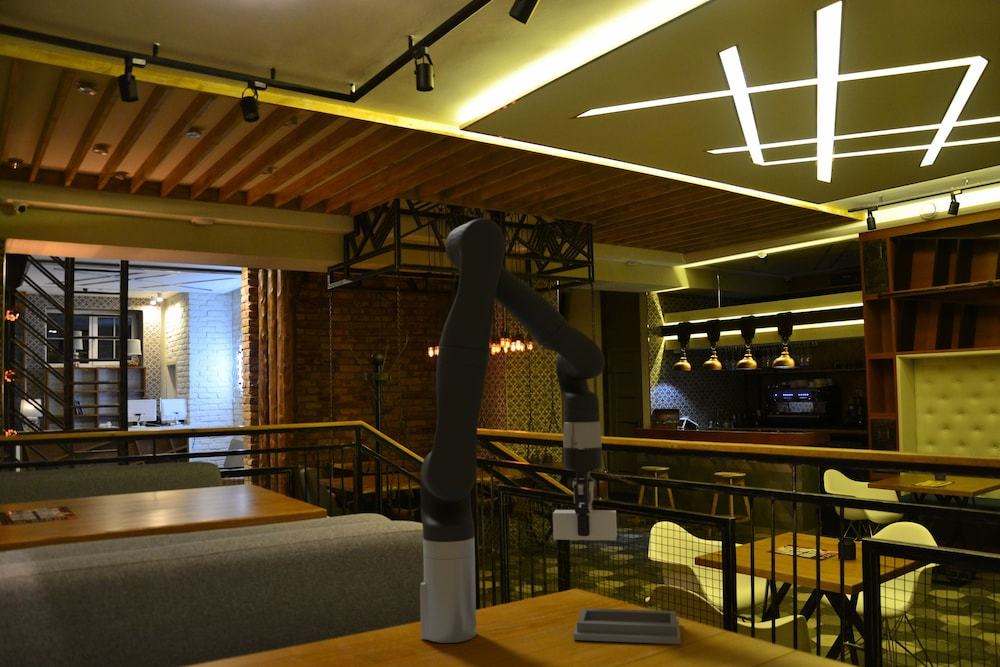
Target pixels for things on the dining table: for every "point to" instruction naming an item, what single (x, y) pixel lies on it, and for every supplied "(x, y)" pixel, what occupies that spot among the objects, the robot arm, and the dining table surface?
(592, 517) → the off-white tapered block
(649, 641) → the cradle
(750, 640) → the dining table surface
